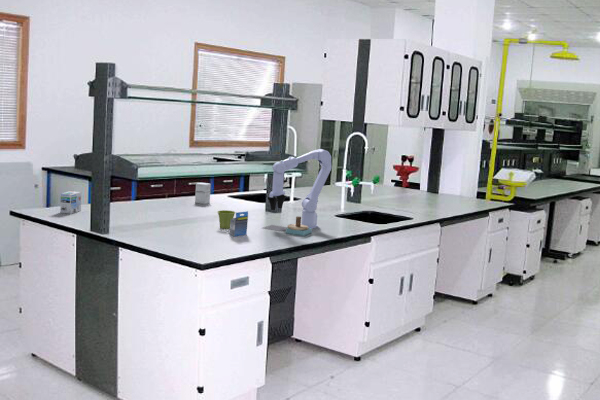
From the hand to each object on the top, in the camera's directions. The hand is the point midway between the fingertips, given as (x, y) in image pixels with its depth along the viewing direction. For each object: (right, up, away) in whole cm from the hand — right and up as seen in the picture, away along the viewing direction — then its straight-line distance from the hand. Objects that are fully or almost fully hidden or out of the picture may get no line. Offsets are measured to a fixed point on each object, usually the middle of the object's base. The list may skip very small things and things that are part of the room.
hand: (276, 209), depth 355 cm
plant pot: (-26, -10, -10) cm, 30 cm away
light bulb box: (-114, -2, +4) cm, 114 cm away
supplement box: (-50, +3, +61) cm, 79 cm away
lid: (+12, -10, -12) cm, 20 cm away
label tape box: (-18, -13, -25) cm, 34 cm away
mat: (0, -11, -3) cm, 11 cm away
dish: (+12, -13, -12) cm, 22 cm away
